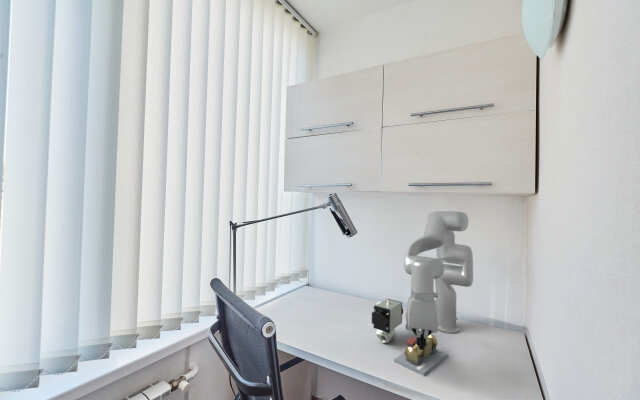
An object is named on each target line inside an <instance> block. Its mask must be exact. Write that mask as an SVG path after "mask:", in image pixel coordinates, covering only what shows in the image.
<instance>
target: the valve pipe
mask: <svg viewBox="0 0 640 400" xmlns="http://www.w3.org/2000/svg"><path fill="white" fill-rule="evenodd" d="M437 347H438V340H437V338H436V337H435V336H434V335H432V334H430V335H429V336H428V337H427V339H426V347H425V350H423V349H421V350H420V349H419V347H418V346H417V343H416V344H415V346H414V347H413V348H411V347H408V346H406V348H405V349H404V352H403V353H405V357H406V361H408V362H410V363H412V364H415V365H417V366H419V365H420V364H422V357H424V358H425V357H426V356H427V355H429V354H432V355H434V354H435V353H436V350H437Z"/></svg>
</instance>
